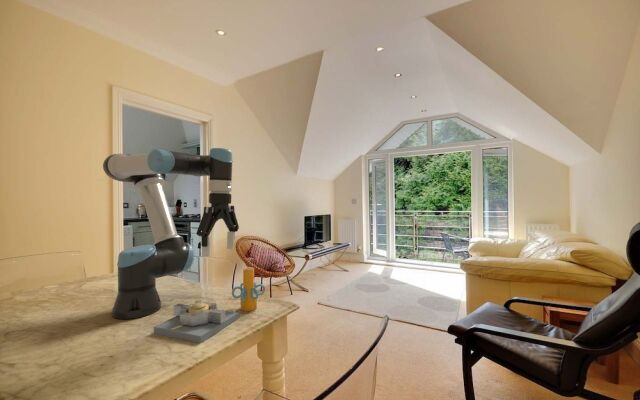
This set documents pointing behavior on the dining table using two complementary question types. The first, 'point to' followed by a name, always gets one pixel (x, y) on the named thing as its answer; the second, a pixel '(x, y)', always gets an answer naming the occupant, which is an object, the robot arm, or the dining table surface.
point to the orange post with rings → (248, 290)
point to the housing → (194, 332)
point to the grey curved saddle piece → (199, 314)
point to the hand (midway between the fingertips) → (219, 252)
